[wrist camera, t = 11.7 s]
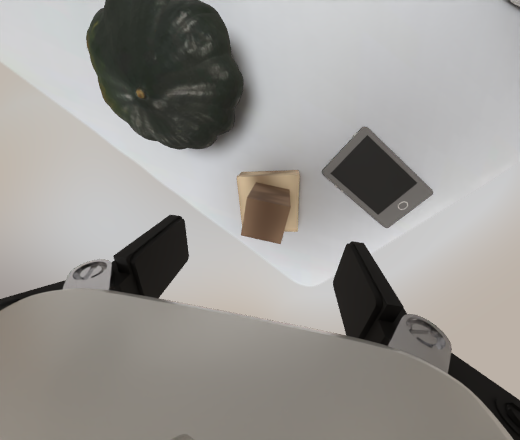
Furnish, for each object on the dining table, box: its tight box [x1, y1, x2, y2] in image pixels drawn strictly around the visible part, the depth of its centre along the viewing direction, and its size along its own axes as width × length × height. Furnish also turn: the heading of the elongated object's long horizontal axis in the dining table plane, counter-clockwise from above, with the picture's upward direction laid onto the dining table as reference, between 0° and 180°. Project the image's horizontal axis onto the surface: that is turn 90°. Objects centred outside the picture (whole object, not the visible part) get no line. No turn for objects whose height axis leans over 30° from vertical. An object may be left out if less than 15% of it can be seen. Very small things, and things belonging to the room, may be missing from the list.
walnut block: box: [241, 182, 291, 244], centre depth 25 cm, size 5×5×7 cm
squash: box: [86, 0, 243, 149], centre depth 21 cm, size 14×15×15 cm
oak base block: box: [237, 170, 300, 232], centre depth 30 cm, size 9×9×4 cm
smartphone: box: [322, 127, 433, 228], centre depth 28 cm, size 15×8×1 cm, turn 53°
